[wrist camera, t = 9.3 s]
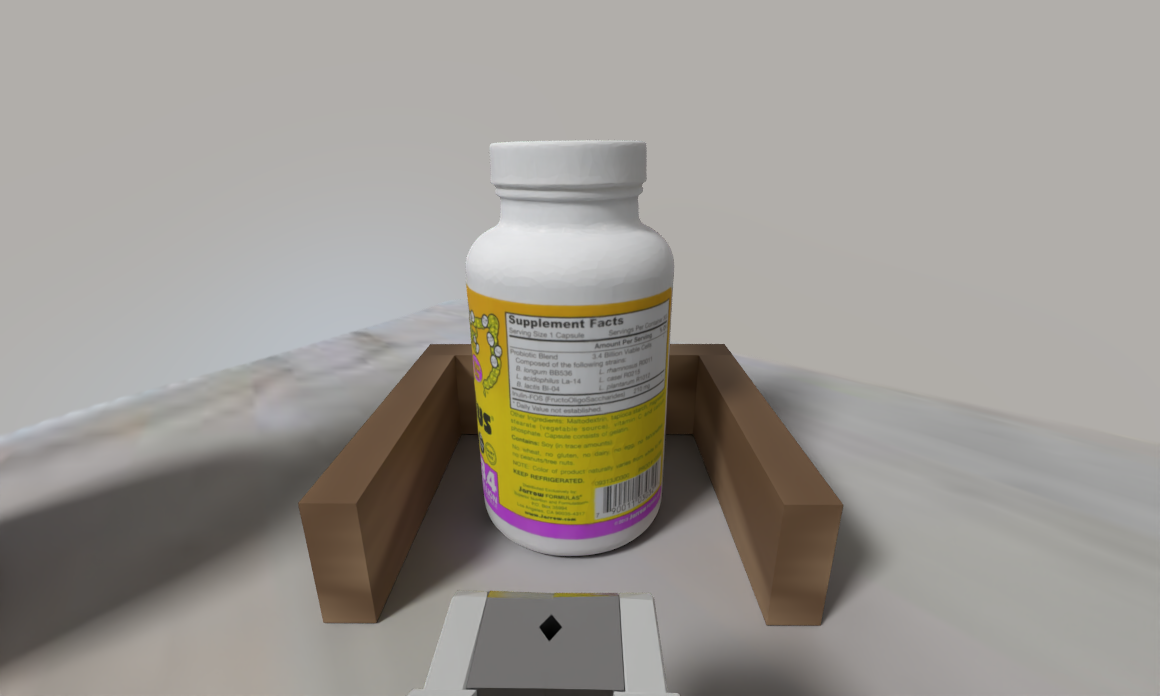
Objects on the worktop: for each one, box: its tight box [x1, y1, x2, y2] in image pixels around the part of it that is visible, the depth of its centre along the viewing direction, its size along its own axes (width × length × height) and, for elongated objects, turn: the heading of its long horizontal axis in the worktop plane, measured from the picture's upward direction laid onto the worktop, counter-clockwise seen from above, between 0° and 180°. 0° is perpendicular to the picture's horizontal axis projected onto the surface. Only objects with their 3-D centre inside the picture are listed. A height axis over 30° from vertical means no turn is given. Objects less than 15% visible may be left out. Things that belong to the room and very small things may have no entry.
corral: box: [298, 344, 843, 625], centre depth 20 cm, size 14×12×4 cm
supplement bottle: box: [466, 140, 674, 556], centre depth 18 cm, size 7×7×13 cm
